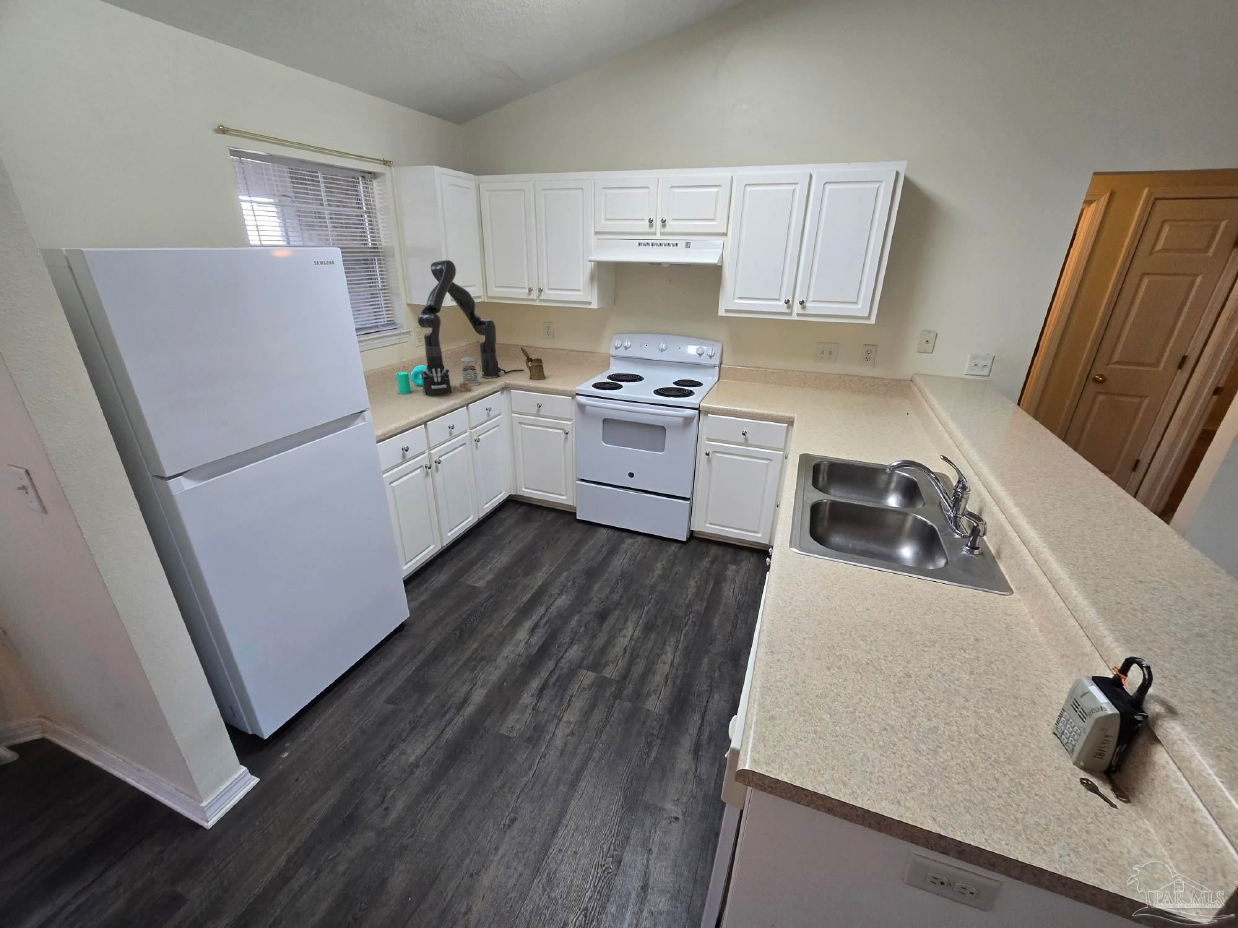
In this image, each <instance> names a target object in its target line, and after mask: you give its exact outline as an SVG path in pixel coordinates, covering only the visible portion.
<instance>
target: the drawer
mask: <svg viewBox="0 0 1238 928" xmlns="http://www.w3.org/2000/svg"><path fill="white" fill-rule="evenodd" d="M436 378H437V377H436ZM449 379H450V377H449V378H447V377H445V378H444V380H441V385H439V386H435V382H434V381H431V380H430V379H429V378H425V381H426V388H427V395H426V396H434V395H435V396H436V395H437V396H438V395H446V394H452V389H451V390H450V387H451V382H449ZM437 381H438V379H437ZM437 388H440V389H437Z"/></svg>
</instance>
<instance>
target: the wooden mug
mask: <svg viewBox="0 0 1238 928" xmlns="http://www.w3.org/2000/svg"><path fill="white" fill-rule="evenodd" d="M520 350H521V353H522V354H523V355H524V357H525V366H526V368H527V369H528V371H529V379H531V380H534V381H535V380H536V381H538V380H539V381H540V380H544V379H546V374H545V369H544V362H543V360H542V358H540V357H539V358H533V357H530V354H529V352H528V351H527V350H526V349H525V348H523V347H520Z"/></svg>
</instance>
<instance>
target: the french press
mask: <svg viewBox="0 0 1238 928" xmlns="http://www.w3.org/2000/svg"><path fill="white" fill-rule="evenodd" d="M463 341H464V342H465V345H466V347H468V345H467V343H468V342H469V340H468V339H467V338H465V339H464V340H463ZM466 353H467V356H465V357H463V358H461V359H460V361H461V362H462V363H468V365H463V366H462V367H461V368H462V369H461V372H462V381H468V382H469V385H470V387H474V386H479V385H480V384H481V383H480V382H479V379H478V378H479V377H478V376H479V375H480V374H481V372H482V366H481V363H479V362H478V361H477V360H476V358H474V357H471V356H469V354H468V353H469V352H468V351H466ZM472 362H474V363H476V364H478V365H479V367H480V368H479V371H477V369H476V366H475V365H470V363H472Z"/></svg>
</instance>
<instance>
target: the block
mask: <svg viewBox="0 0 1238 928" xmlns="http://www.w3.org/2000/svg"><path fill="white" fill-rule="evenodd" d="M459 390H460V392H463V393H464V392H470V391H471V386H470V385H469V382H468V381H463V380H462V381H459Z"/></svg>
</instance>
